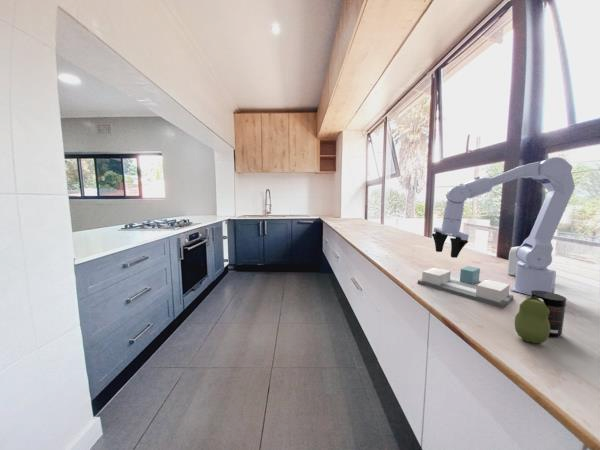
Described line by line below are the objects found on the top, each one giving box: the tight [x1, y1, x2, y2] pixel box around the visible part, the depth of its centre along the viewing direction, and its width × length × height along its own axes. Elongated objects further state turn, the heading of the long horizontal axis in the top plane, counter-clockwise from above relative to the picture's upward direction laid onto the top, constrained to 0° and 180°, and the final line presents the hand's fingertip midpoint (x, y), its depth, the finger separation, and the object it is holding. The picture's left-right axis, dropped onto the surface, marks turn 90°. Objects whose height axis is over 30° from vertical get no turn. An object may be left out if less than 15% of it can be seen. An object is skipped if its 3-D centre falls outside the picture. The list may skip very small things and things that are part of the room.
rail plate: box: [417, 267, 514, 309], centre depth 82 cm, size 25×11×4 cm, turn 36°
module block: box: [459, 265, 481, 285], centre depth 91 cm, size 4×7×5 cm, turn 126°
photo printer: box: [507, 245, 521, 277], centre depth 95 cm, size 10×4×12 cm, turn 39°
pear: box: [514, 295, 550, 344], centre depth 52 cm, size 6×5×10 cm
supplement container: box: [529, 290, 568, 338], centre depth 56 cm, size 6×6×9 cm
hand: (446, 254), depth 90 cm, fingers open, 7 cm apart
